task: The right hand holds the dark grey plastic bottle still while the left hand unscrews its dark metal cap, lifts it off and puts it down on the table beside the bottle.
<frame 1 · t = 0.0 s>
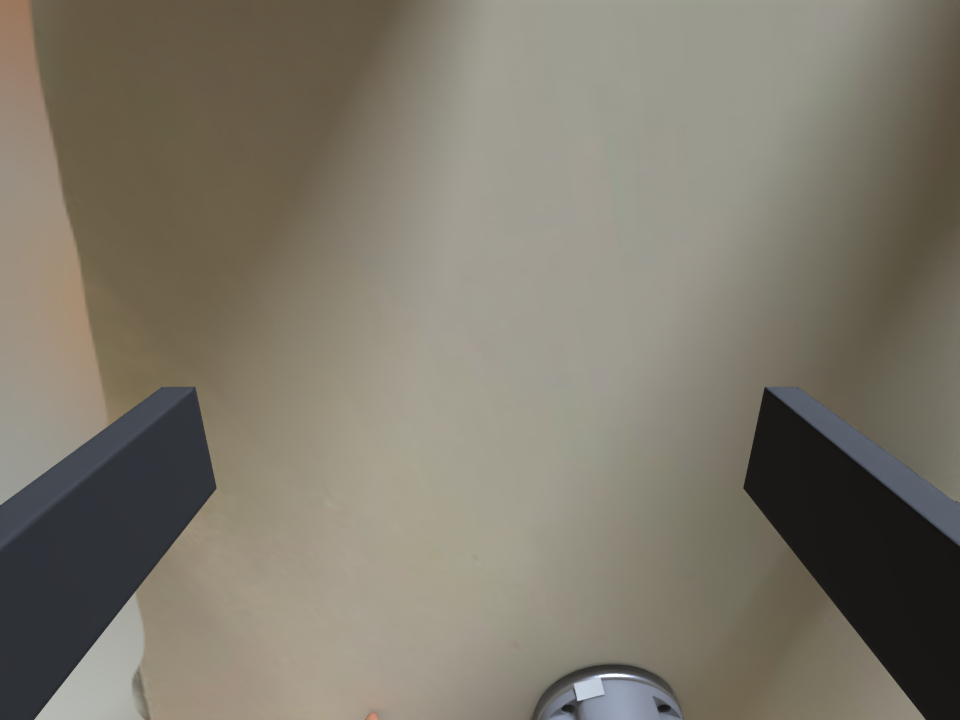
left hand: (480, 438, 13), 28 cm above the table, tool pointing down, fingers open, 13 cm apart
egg: (374, 711, 56), on the table
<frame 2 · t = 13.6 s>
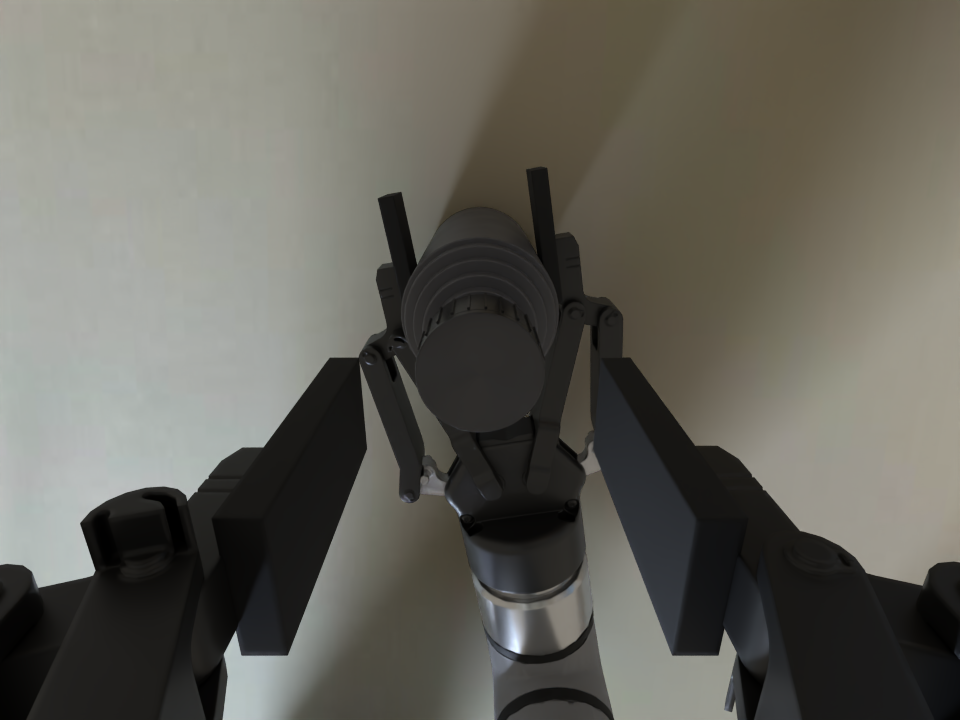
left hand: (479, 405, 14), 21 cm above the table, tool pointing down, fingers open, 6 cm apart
right hand: (462, 182, 26), fingers closed on bottle, 6 cm apart
cap: (480, 371, 16), point 18 cm above the table, screwed on, not yet turned
bottle: (479, 260, 34), on the table, touching right hand
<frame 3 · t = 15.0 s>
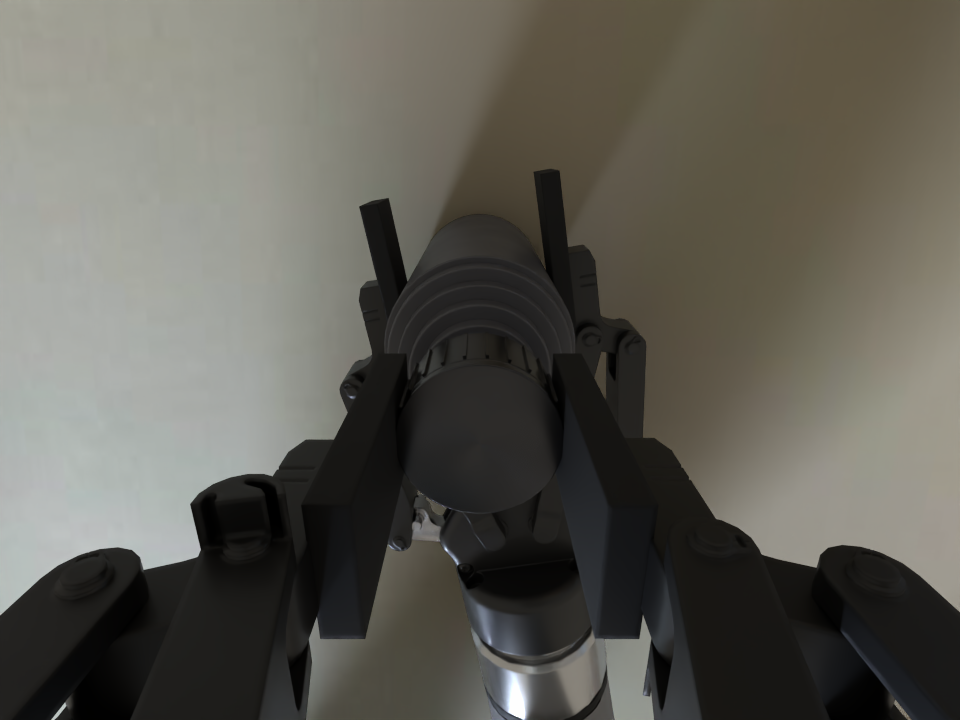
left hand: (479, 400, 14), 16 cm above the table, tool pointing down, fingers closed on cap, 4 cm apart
right hand: (459, 187, 22), fingers closed on bottle, 6 cm apart
cap: (479, 437, 13), point 18 cm above the table, screwed on, not yet turned, touching left hand
bottle: (479, 273, 30), on the table, touching right hand
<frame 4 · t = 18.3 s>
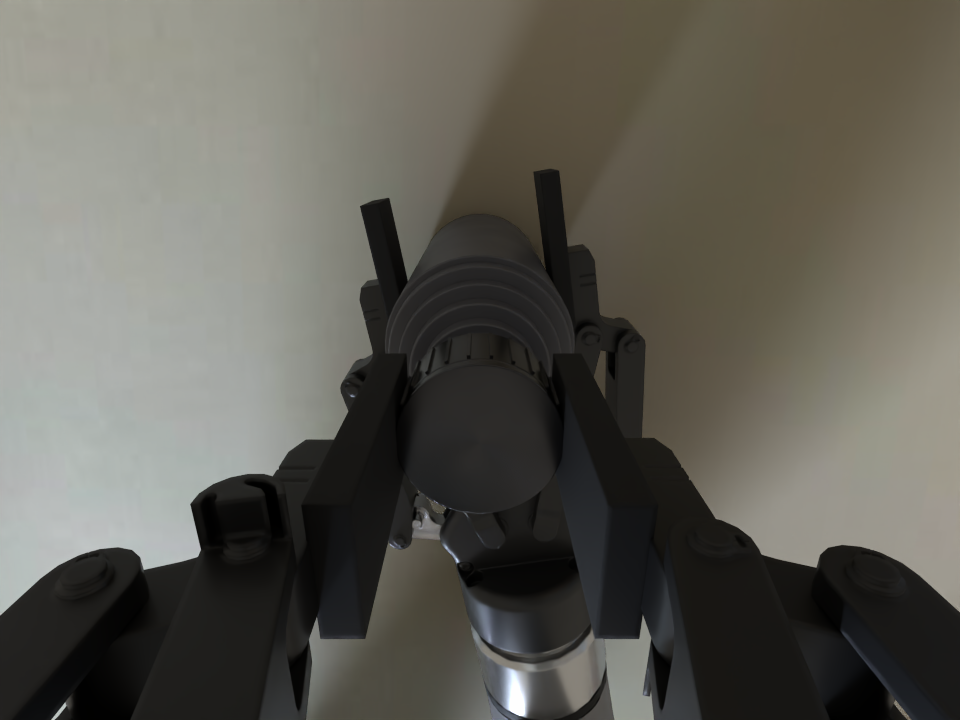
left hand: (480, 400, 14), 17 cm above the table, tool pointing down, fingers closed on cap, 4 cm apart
right hand: (459, 187, 22), fingers closed on bottle, 6 cm apart
cap: (479, 437, 13), point 19 cm above the table, turned 117° so far, risen 0.1 cm, still on its thread, touching left hand
bottle: (480, 273, 30), on the table, touching right hand
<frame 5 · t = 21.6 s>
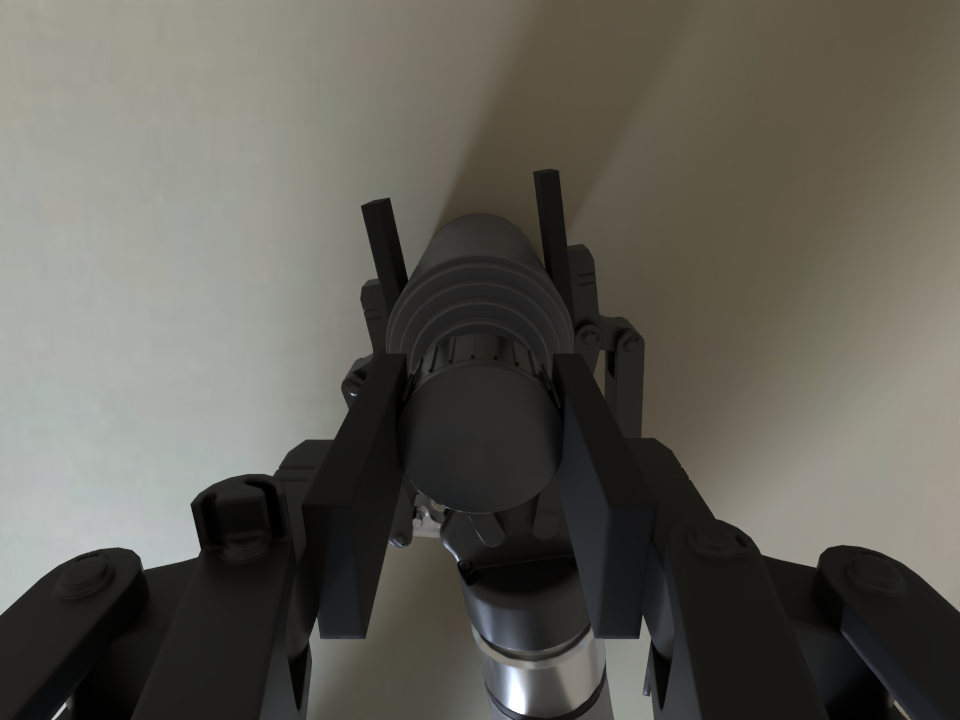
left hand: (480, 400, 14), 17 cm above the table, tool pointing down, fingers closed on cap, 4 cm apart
right hand: (459, 187, 22), fingers closed on bottle, 6 cm apart
cap: (480, 437, 13), point 19 cm above the table, turned 235° so far, risen 0.3 cm, still on its thread, touching left hand
bottle: (480, 273, 30), on the table, touching right hand
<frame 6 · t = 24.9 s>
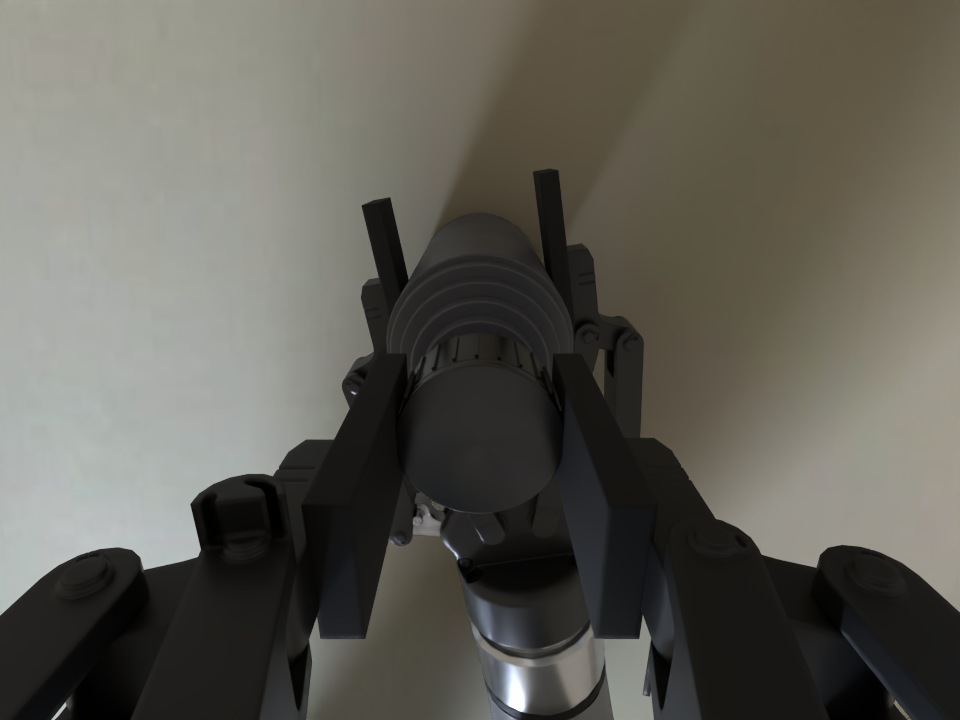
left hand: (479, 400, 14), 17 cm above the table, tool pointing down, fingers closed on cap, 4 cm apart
right hand: (460, 187, 23), fingers closed on bottle, 6 cm apart
cap: (480, 437, 13), point 19 cm above the table, turned 352° so far, risen 0.4 cm, still on its thread, touching left hand
bottle: (480, 272, 30), on the table, touching right hand
when the left hand's fingers open (2 cm above the table, at t = 31.9 s): cap drops 2 cm, point 2 cm above the table.
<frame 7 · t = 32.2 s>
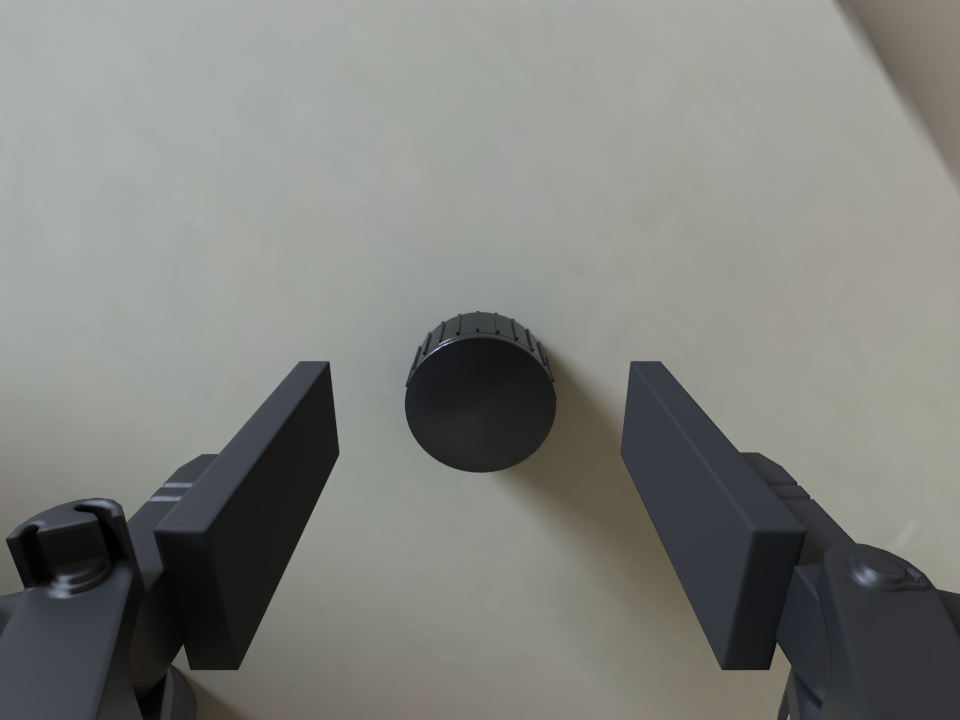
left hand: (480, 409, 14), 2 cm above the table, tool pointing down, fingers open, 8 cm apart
cap: (480, 403, 14), point 2 cm above the table, off its thread
bottle: (112, 698, 21), on the table, touching right hand
when the right hand's fingers open (6 cm above the table, at t = 33.1 s): bottle stays where it is, on the table.
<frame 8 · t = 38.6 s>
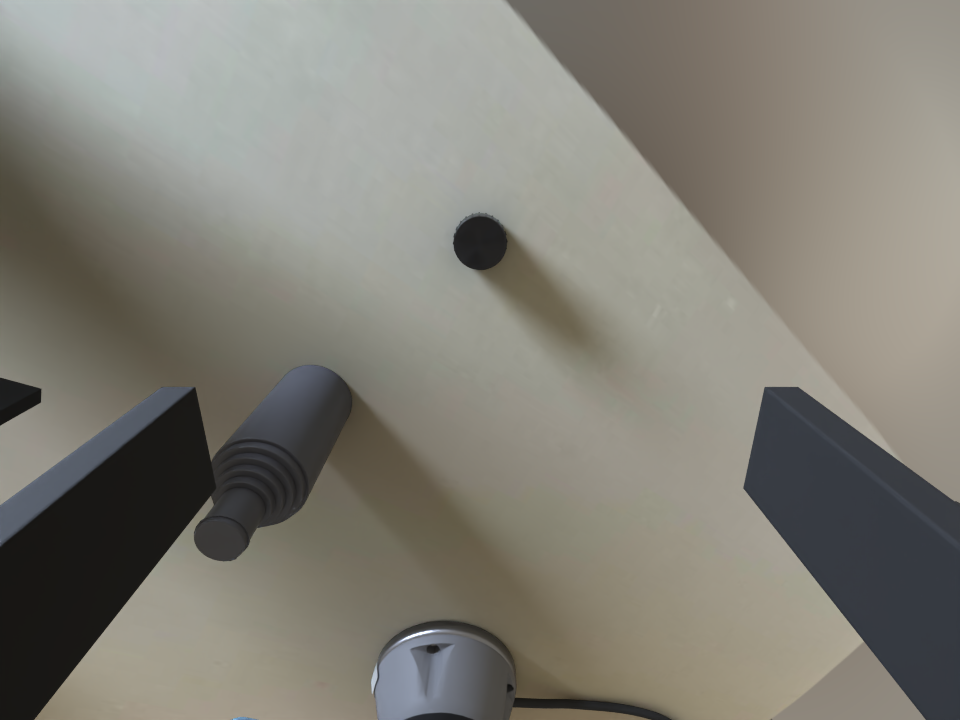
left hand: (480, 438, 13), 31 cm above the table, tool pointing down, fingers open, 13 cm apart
cap: (480, 242, 40), point 2 cm above the table, off its thread
bottle: (314, 399, 47), on the table
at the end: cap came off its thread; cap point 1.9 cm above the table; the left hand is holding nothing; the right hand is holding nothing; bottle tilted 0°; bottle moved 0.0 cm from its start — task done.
